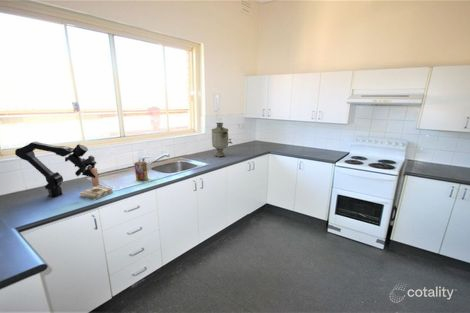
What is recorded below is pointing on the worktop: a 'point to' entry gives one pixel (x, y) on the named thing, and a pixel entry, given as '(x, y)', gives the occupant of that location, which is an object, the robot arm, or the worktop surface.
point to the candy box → (141, 170)
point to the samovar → (220, 139)
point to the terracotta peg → (95, 180)
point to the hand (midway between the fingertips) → (96, 176)
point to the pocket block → (96, 192)
